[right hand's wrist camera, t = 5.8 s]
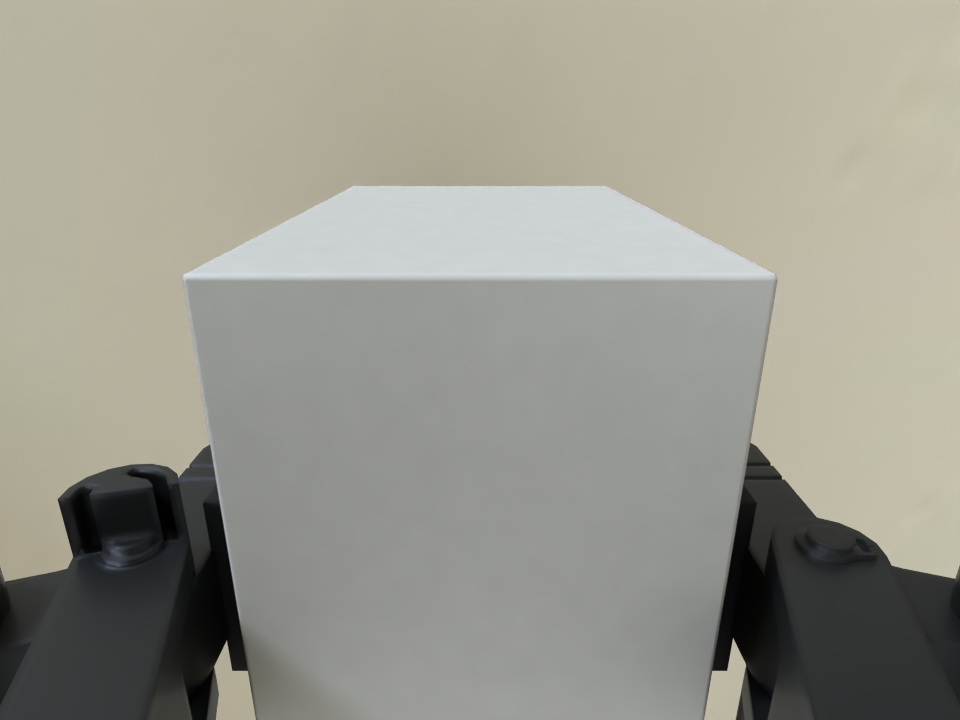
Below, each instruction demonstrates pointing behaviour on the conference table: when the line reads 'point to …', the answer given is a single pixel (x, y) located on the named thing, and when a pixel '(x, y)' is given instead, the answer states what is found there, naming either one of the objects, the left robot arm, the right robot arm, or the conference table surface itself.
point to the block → (480, 451)
